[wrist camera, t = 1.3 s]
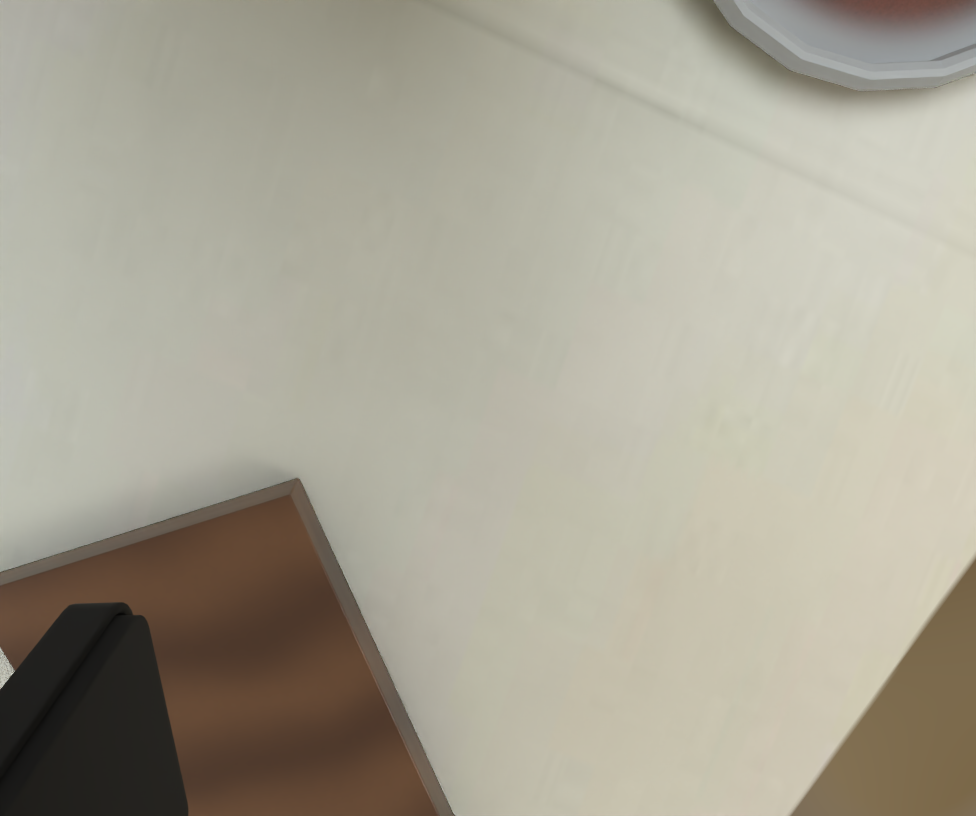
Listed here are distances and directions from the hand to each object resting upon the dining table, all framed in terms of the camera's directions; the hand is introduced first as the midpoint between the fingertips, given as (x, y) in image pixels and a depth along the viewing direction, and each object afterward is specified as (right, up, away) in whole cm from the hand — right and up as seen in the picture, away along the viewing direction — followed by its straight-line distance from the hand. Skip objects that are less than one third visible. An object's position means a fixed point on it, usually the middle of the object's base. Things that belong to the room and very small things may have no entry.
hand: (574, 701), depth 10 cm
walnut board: (-13, -13, +36) cm, 41 cm away
